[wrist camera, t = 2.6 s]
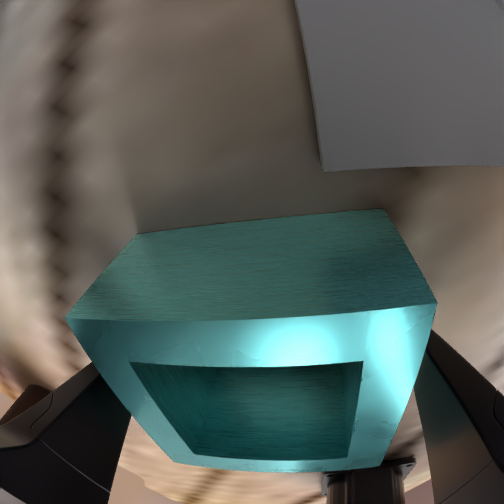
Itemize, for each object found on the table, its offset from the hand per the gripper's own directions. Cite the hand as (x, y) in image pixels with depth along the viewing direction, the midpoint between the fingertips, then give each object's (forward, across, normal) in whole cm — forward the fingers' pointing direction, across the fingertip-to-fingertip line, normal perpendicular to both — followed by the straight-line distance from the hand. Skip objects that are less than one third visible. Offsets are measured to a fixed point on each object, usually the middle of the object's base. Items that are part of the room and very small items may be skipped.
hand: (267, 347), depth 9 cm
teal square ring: (+1, 0, 0) cm, 1 cm away
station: (+1, -8, -10) cm, 13 cm away
